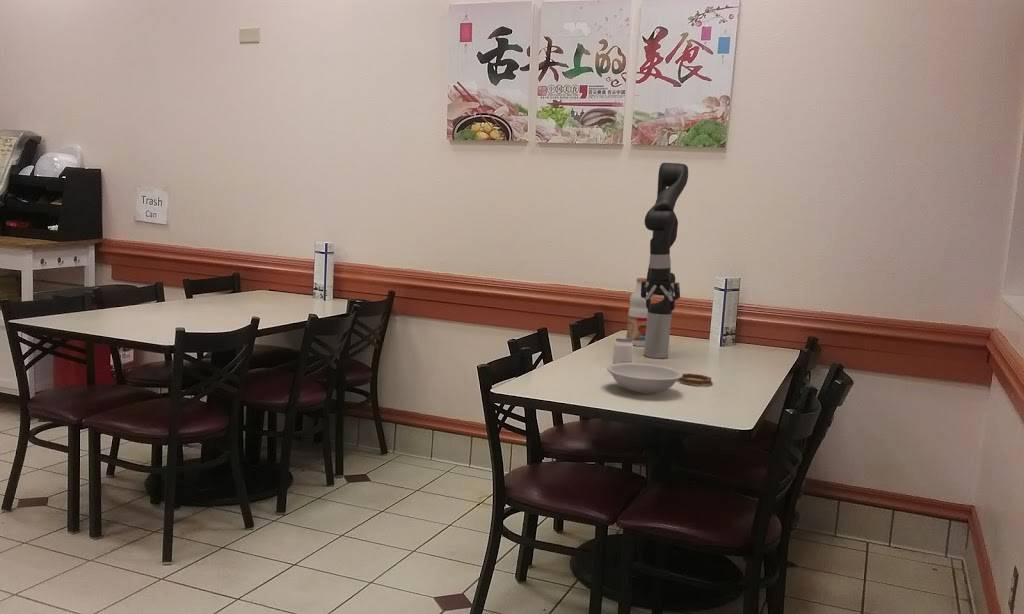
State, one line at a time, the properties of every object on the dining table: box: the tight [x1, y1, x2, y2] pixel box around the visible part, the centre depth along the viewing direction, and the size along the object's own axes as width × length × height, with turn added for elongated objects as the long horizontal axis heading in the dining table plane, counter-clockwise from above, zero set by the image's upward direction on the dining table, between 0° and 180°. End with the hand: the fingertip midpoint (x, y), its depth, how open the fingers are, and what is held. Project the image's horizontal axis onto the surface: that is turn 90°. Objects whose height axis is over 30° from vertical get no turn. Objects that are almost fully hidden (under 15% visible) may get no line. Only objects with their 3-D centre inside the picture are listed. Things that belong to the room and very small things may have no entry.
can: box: [612, 338, 634, 364], centre depth 290 cm, size 6×6×12 cm
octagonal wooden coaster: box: [676, 373, 714, 387], centre depth 285 cm, size 12×12×2 cm
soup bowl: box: [606, 362, 684, 394], centre depth 267 cm, size 24×24×7 cm
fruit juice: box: [625, 277, 653, 347], centre depth 351 cm, size 9×9×28 cm
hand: (660, 310), depth 307 cm, fingers open, 8 cm apart
